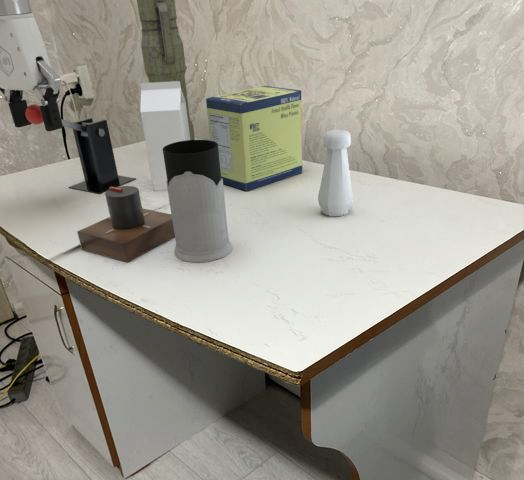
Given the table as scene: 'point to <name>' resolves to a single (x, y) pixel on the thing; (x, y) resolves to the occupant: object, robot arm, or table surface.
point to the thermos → (163, 46)
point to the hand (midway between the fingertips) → (39, 127)
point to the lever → (36, 118)
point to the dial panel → (127, 236)
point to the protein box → (257, 135)
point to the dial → (124, 207)
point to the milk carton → (162, 124)
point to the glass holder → (197, 200)
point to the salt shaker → (336, 175)
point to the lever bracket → (97, 158)
